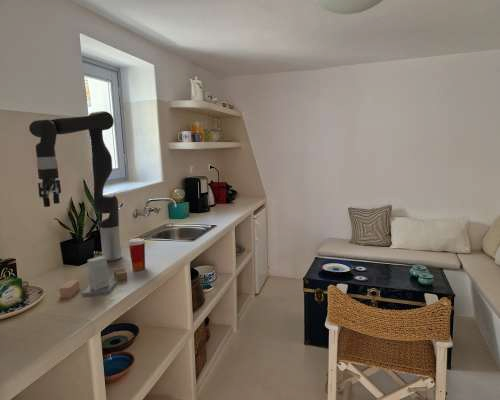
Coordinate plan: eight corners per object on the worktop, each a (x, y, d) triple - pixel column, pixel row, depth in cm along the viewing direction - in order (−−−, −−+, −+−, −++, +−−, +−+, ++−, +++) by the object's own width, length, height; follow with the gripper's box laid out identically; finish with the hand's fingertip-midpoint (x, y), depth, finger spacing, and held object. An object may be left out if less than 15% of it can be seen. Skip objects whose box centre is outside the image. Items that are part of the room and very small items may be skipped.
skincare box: (104, 283, 141) (101, 255, 140) (109, 286, 139) (106, 257, 137) (89, 288, 137) (86, 259, 135) (94, 290, 134) (91, 261, 133)
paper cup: (139, 265, 167) (137, 237, 165) (150, 267, 163) (148, 239, 161) (126, 270, 160) (124, 241, 158) (137, 272, 156) (135, 243, 154)
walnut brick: (114, 277, 152) (113, 269, 151) (123, 275, 154) (122, 267, 153) (117, 283, 145) (116, 274, 144) (127, 281, 147) (126, 272, 147)
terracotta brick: (69, 289, 140) (68, 280, 139) (79, 289, 140) (78, 279, 140) (60, 298, 132) (59, 288, 131) (71, 297, 132) (70, 287, 132)
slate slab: (91, 287, 143) (91, 283, 142) (116, 285, 144) (116, 281, 143) (82, 297, 133) (82, 293, 133) (109, 296, 134) (108, 291, 134)
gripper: (46, 167, 153) (51, 202, 155) (29, 169, 138) (34, 208, 141) (64, 166, 153) (68, 202, 156) (48, 168, 139) (53, 207, 142)
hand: (52, 205), depth 148 cm, fingers open, 8 cm apart
